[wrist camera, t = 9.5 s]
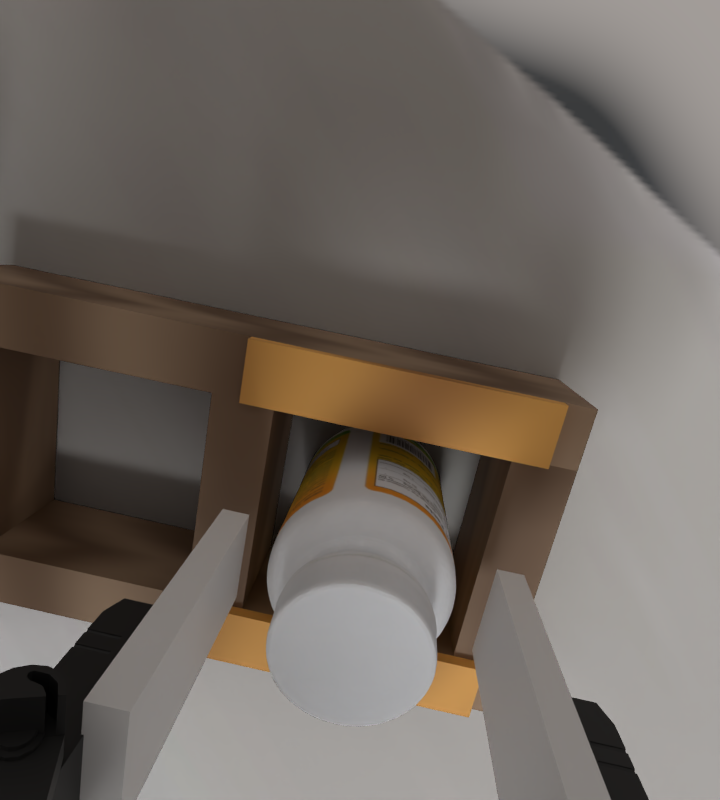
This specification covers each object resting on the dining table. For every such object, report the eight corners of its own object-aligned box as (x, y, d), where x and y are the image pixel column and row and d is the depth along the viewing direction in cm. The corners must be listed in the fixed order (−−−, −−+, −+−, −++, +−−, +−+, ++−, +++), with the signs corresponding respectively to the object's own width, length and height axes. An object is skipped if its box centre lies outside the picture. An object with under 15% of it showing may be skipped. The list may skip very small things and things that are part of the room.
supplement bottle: (318, 547, 22) (256, 757, 13) (298, 427, 21) (212, 564, 11) (445, 538, 22) (478, 750, 12) (433, 414, 20) (459, 545, 11)
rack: (8, 530, 23) (-82, 592, 19) (12, 265, 20) (-95, 266, 15) (479, 635, 22) (497, 723, 18) (558, 379, 19) (603, 413, 15)
